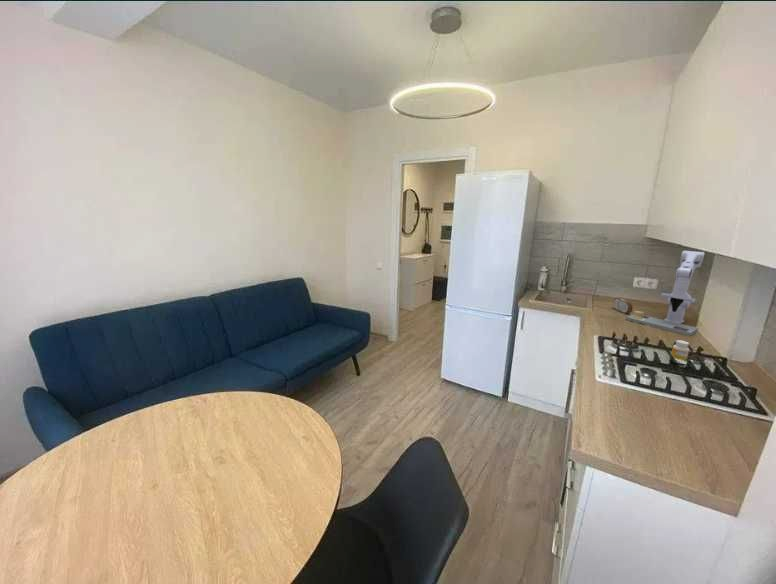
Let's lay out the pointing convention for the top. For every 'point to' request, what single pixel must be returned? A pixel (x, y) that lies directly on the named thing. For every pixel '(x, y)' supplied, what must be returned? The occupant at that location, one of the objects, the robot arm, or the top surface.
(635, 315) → the block
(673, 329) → the board
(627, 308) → the tin
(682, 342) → the supplement bottle
